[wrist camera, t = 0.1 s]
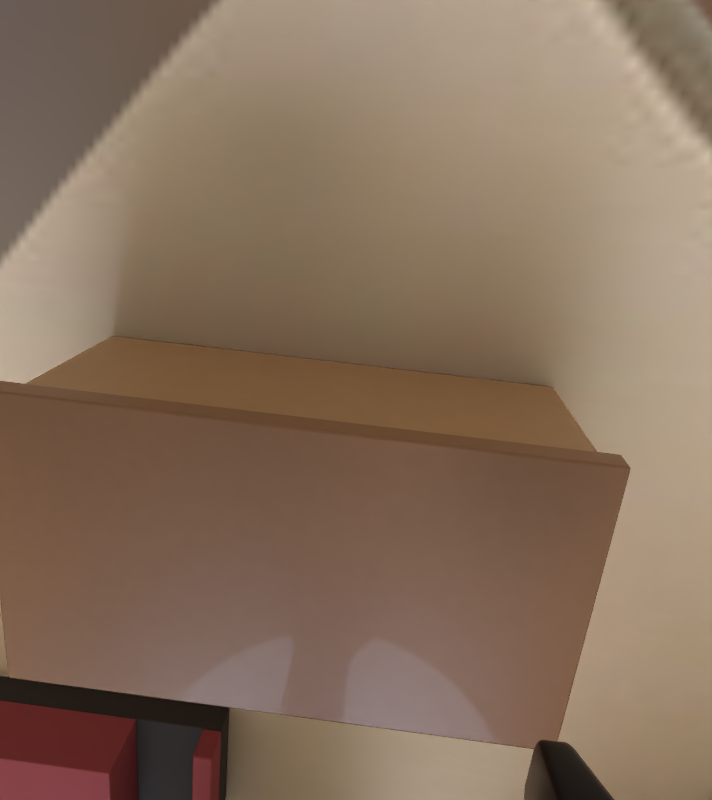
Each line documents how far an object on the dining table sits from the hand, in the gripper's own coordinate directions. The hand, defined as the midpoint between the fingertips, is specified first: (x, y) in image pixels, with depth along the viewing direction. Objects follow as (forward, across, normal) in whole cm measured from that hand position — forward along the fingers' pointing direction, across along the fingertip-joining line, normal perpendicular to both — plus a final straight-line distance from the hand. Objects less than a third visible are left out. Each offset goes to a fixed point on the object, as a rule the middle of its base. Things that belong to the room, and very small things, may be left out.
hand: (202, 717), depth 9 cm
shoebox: (+15, 0, +3) cm, 15 cm away
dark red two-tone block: (+15, +9, +18) cm, 25 cm away
